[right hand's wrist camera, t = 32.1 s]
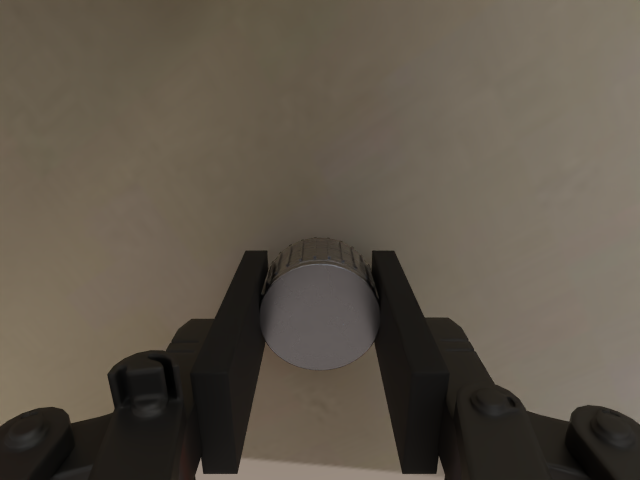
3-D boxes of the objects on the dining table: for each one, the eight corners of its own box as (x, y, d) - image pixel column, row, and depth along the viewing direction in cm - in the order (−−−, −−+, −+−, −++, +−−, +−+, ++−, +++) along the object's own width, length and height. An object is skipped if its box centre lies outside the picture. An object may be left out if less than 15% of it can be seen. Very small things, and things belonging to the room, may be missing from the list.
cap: (275, 338, 15) (268, 378, 13) (256, 243, 14) (244, 271, 12) (378, 326, 15) (387, 364, 13) (368, 228, 14) (377, 254, 12)
